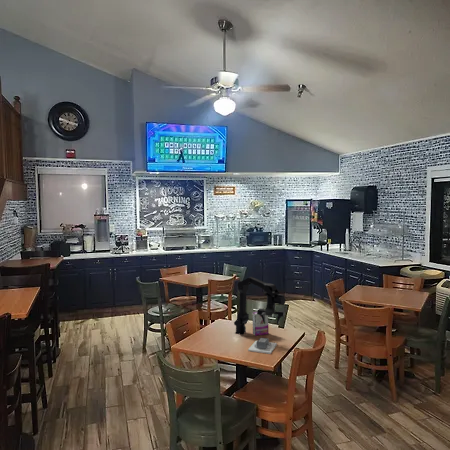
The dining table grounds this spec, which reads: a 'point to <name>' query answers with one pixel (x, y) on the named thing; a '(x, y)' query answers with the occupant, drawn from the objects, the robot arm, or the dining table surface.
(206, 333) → the dining table surface
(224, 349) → the dining table surface
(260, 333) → the candy bar box
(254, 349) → the tray
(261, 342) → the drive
